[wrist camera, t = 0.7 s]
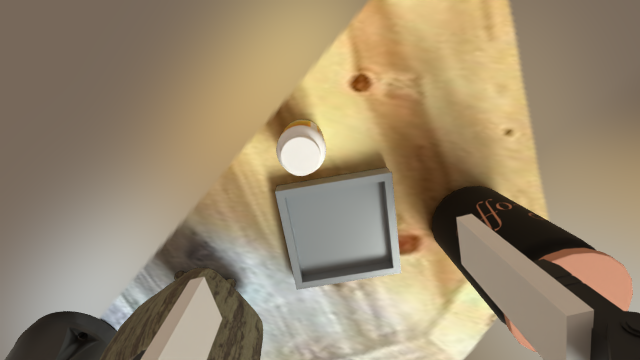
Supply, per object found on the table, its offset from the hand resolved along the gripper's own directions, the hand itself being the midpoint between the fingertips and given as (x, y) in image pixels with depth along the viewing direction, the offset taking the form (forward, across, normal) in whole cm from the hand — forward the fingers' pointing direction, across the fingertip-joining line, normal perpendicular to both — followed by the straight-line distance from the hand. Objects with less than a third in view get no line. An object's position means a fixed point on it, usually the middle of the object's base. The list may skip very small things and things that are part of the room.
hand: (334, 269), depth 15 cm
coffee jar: (+25, +18, -14) cm, 34 cm away
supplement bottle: (+25, -2, +3) cm, 26 cm away
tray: (+25, 0, -10) cm, 27 cm away
